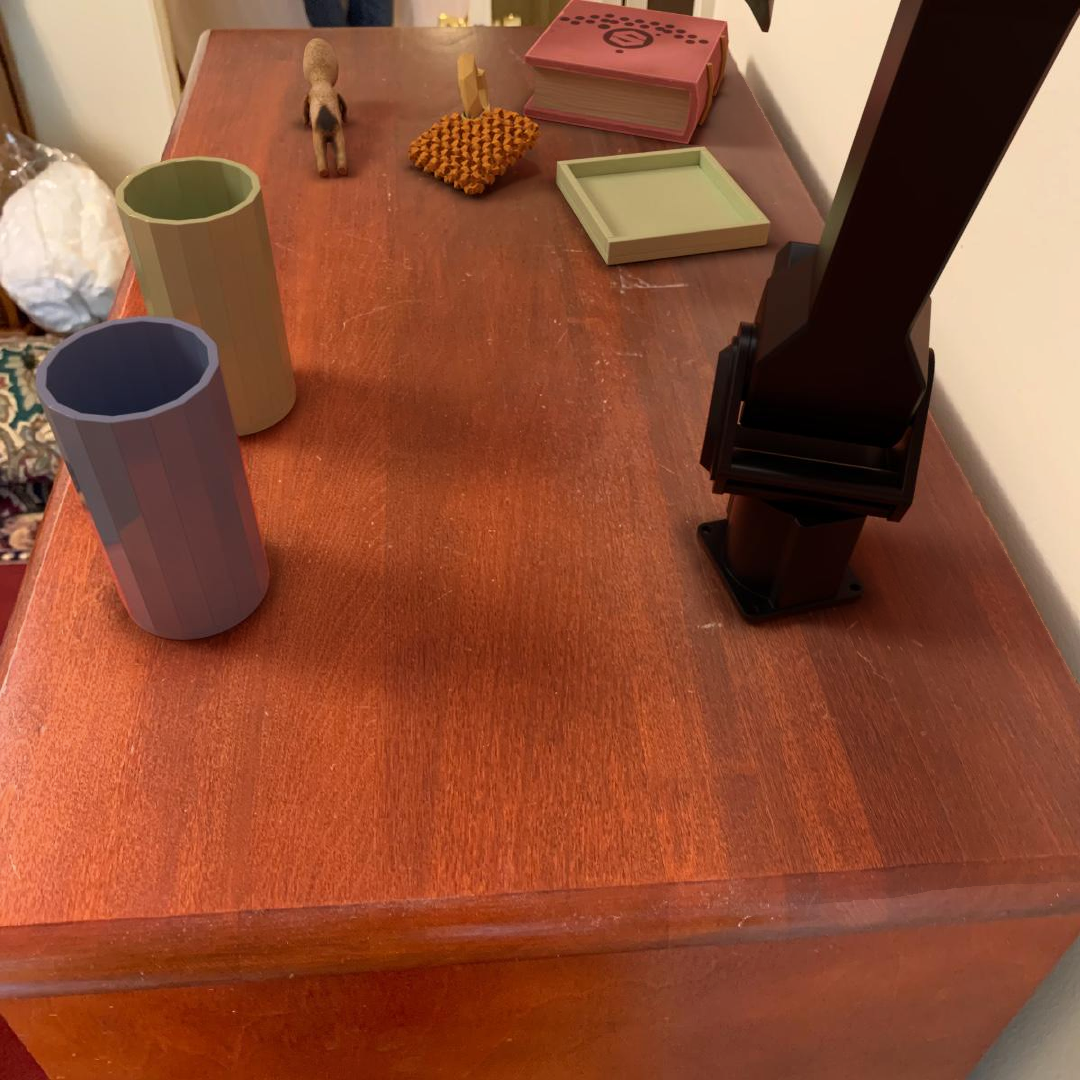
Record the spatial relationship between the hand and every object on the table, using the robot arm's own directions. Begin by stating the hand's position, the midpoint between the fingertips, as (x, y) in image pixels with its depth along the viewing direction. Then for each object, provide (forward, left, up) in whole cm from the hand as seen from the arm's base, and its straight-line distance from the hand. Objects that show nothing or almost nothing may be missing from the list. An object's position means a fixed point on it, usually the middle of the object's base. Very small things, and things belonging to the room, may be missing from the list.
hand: (841, 33), depth 61 cm
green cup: (-8, +39, -15) cm, 43 cm away
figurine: (+25, +29, -15) cm, 42 cm away
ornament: (+19, +18, -15) cm, 31 cm away
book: (+27, +2, -15) cm, 31 cm away
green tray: (+7, +7, -15) cm, 18 cm away
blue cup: (-22, +42, -15) cm, 50 cm away
